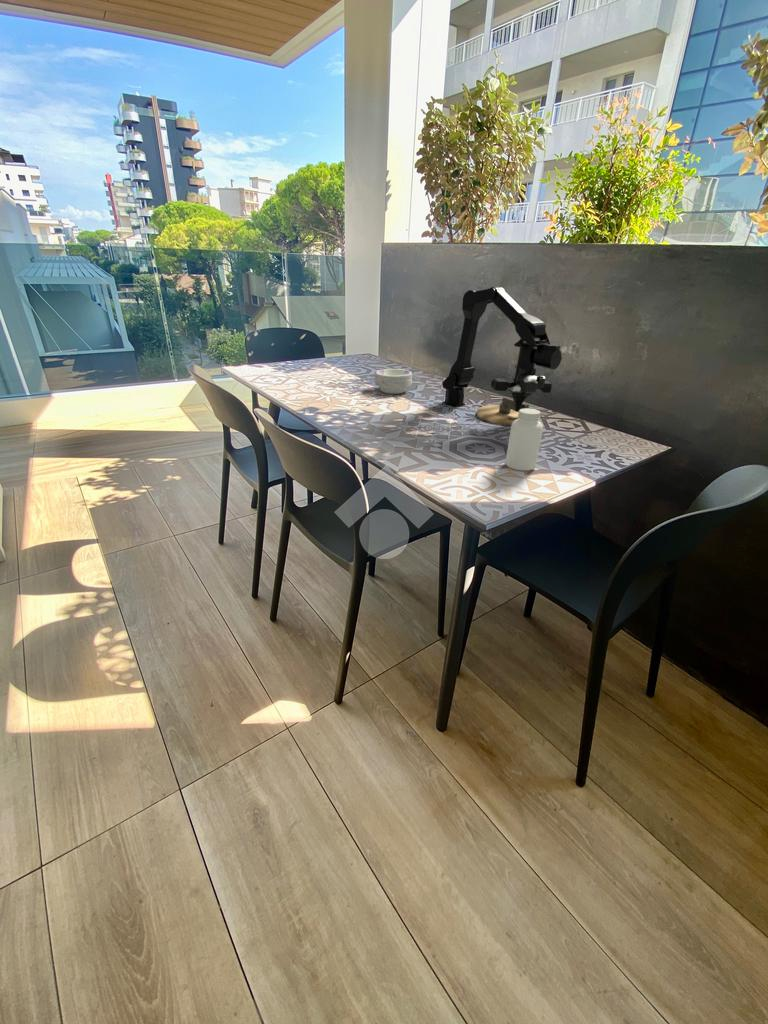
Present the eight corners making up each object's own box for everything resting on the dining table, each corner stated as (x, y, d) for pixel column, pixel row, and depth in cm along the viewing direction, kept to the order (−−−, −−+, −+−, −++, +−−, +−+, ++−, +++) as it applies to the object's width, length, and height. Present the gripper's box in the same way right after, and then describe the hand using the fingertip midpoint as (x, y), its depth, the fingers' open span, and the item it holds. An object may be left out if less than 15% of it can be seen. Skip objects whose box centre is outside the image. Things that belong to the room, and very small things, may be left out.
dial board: (465, 414, 160) (466, 409, 160) (498, 406, 172) (498, 401, 171) (510, 428, 148) (511, 423, 147) (542, 418, 159) (543, 413, 158)
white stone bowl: (373, 386, 193) (373, 367, 189) (408, 386, 195) (409, 368, 191) (376, 396, 180) (376, 375, 176) (414, 396, 181) (415, 376, 177)
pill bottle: (500, 460, 124) (509, 406, 117) (529, 459, 125) (539, 406, 118) (510, 471, 117) (520, 415, 110) (540, 471, 118) (552, 415, 111)
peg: (496, 410, 160) (498, 396, 157) (504, 409, 161) (507, 395, 159) (527, 423, 148) (530, 408, 146) (536, 421, 150) (539, 406, 147)
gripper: (505, 367, 135) (495, 417, 143) (564, 370, 137) (552, 419, 144) (494, 360, 145) (486, 407, 152) (550, 362, 146) (540, 409, 154)
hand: (516, 411), depth 151 cm, fingers closed
